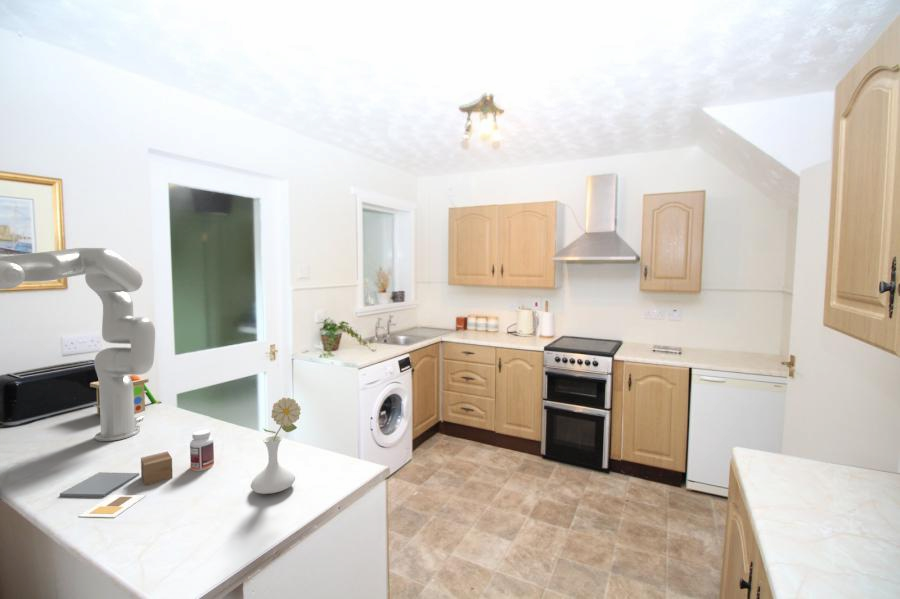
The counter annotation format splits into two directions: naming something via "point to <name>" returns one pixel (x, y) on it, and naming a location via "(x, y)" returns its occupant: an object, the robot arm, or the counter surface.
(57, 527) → the counter surface
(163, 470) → the walnut block
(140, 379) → the pounding bench toy
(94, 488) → the slate plate
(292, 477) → the flower in vase
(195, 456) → the pill bottle
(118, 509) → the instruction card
